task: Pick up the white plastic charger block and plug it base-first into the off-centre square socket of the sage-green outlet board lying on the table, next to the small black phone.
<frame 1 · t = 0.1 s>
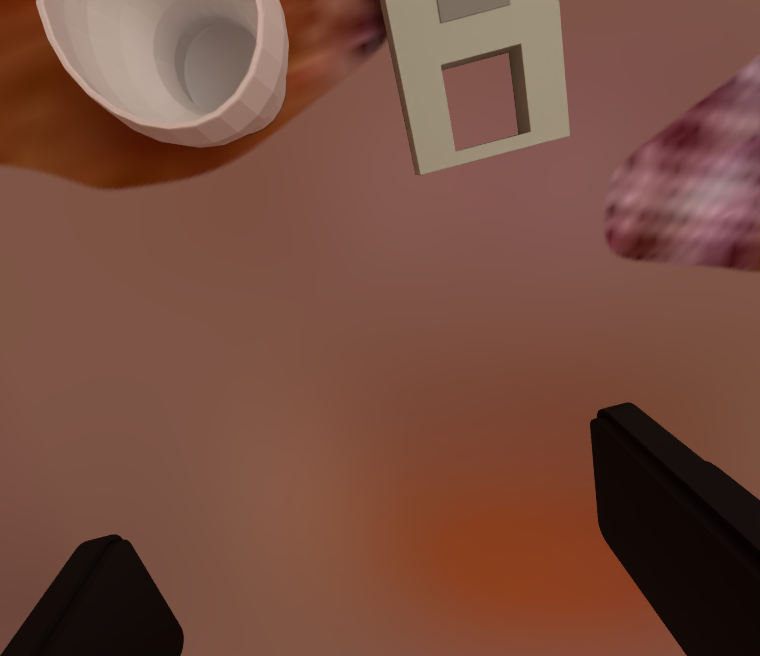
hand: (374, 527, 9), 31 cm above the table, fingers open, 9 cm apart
cup: (235, 79, 33), on the table
outlet board: (469, 47, 33), on the table
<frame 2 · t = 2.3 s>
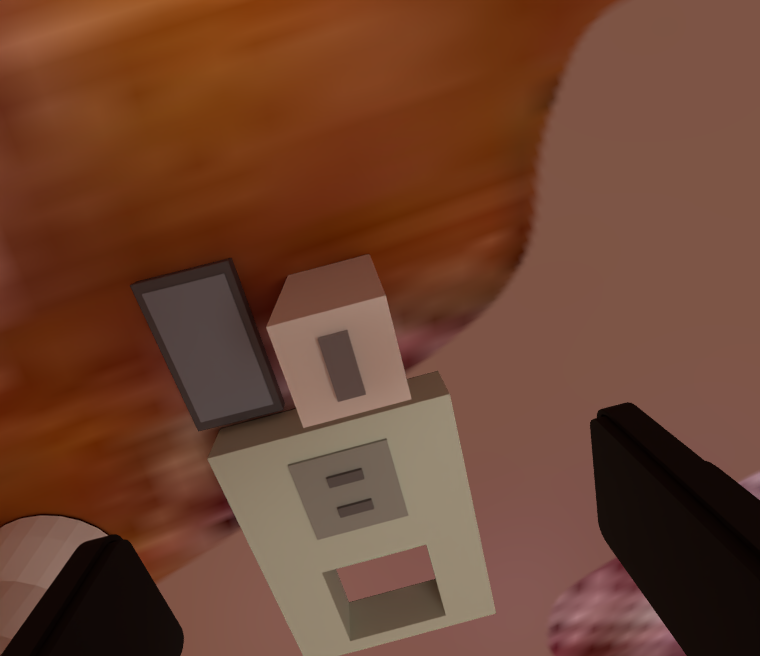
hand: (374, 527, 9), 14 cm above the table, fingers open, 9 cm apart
cup: (60, 562, 25), on the table
phone: (218, 342, 22), on the table
charger block: (340, 303, 21), on the table
outlet board: (366, 511, 26), on the table
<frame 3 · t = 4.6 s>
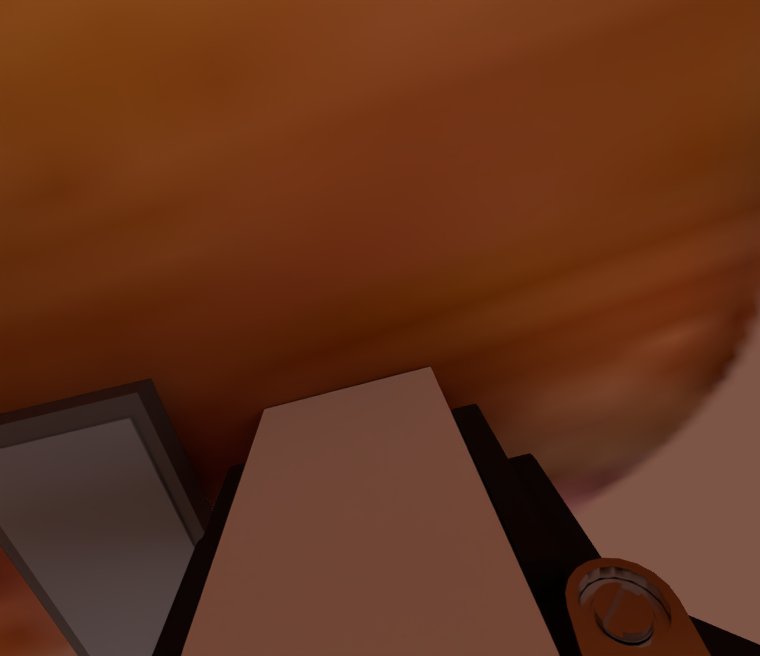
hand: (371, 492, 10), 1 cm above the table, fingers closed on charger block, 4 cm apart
phone: (137, 519, 12), on the table
charger block: (368, 456, 11), on the table, touching gripper
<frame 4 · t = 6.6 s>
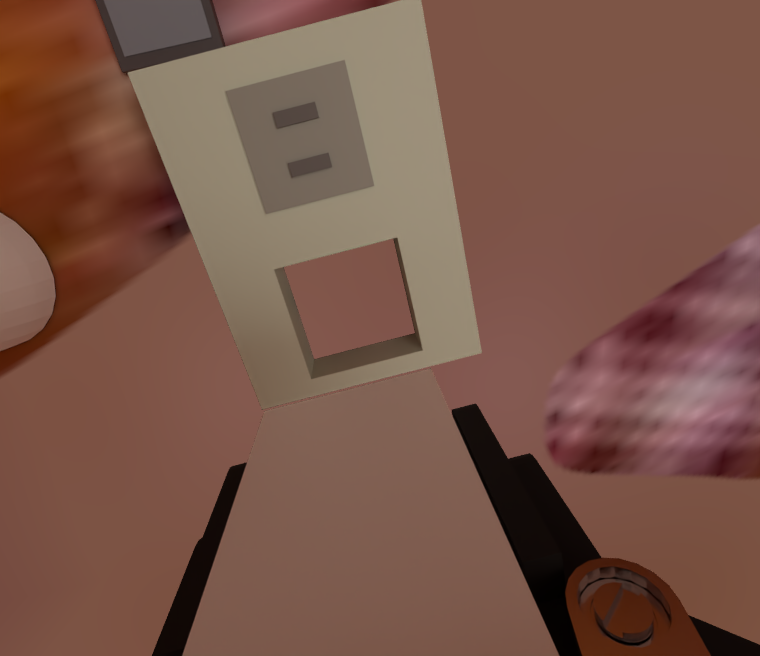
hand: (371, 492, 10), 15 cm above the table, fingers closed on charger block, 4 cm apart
charger block: (368, 458, 11), point 14 cm above the table, touching gripper
outlet board: (330, 225, 22), on the table
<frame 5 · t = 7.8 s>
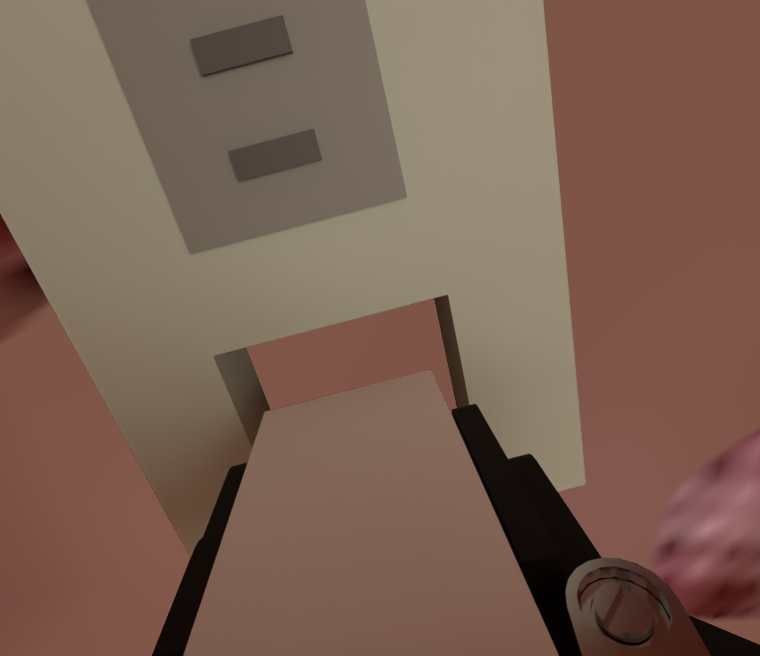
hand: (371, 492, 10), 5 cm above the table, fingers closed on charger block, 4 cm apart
charger block: (368, 459, 11), point 4 cm above the table, touching gripper
outlet board: (322, 265, 13), on the table
when the fingers open (3 cm above the table, at t = 8.8 s): charger block drops 2 cm, resting in outlet board.
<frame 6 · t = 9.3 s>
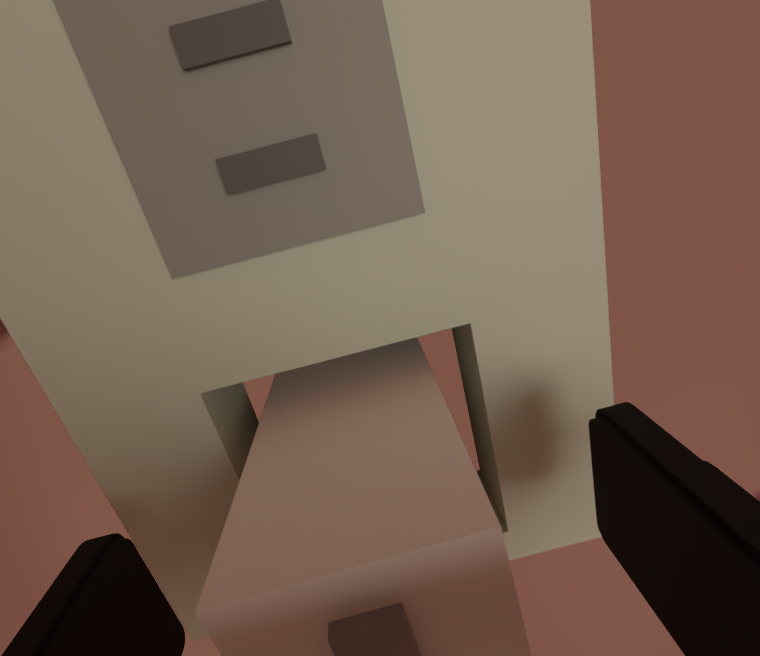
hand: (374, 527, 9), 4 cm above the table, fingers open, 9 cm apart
charger block: (365, 411, 13), resting in outlet board
outlet board: (326, 285, 11), on the table
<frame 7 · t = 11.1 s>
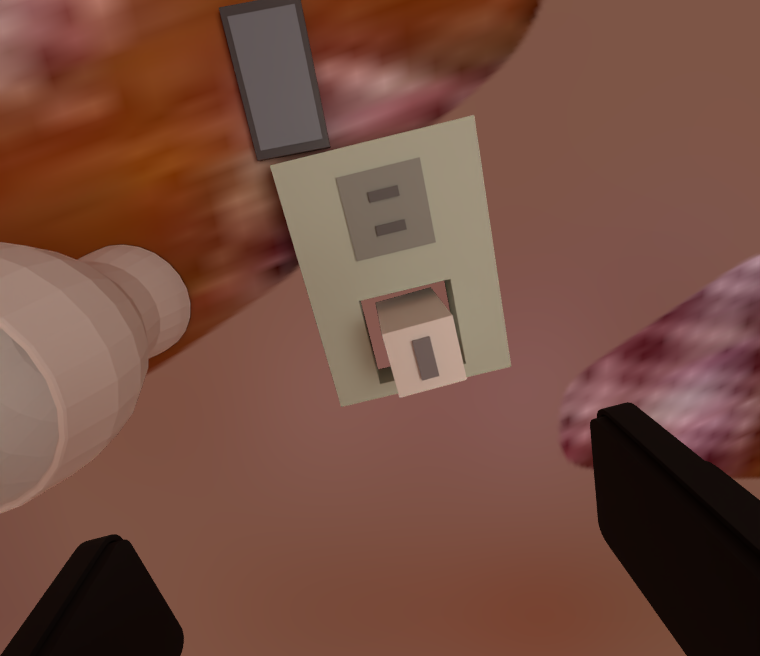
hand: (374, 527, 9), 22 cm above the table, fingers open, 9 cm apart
cup: (133, 301, 29), on the table
phone: (280, 85, 26), on the table
charger block: (409, 321, 31), resting in outlet board
outlet board: (397, 268, 30), on the table
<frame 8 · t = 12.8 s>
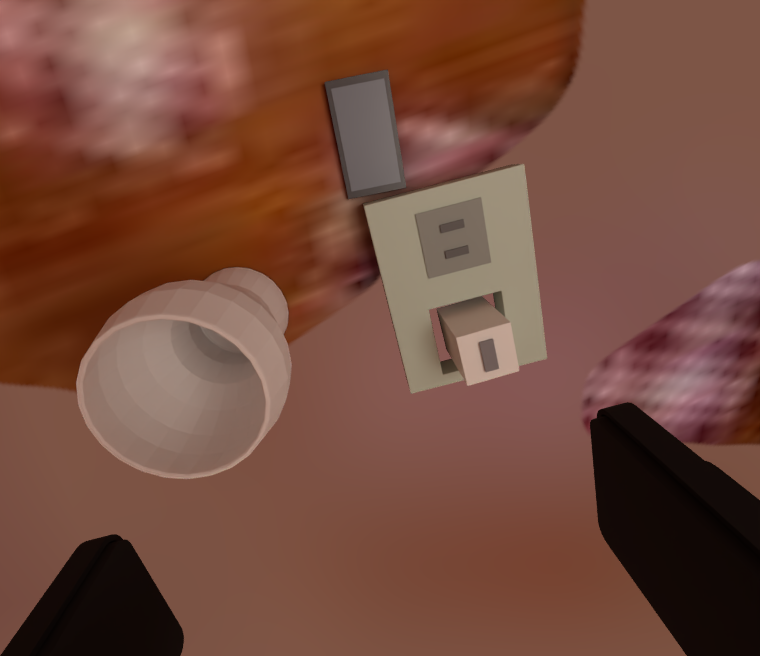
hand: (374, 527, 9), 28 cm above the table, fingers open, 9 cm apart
cup: (242, 312, 36), on the table
phone: (366, 138, 33), on the table
charger block: (463, 323, 38), resting in outlet board
outlet board: (455, 280, 36), on the table
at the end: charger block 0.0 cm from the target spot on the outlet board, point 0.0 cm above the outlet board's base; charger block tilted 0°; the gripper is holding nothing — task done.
